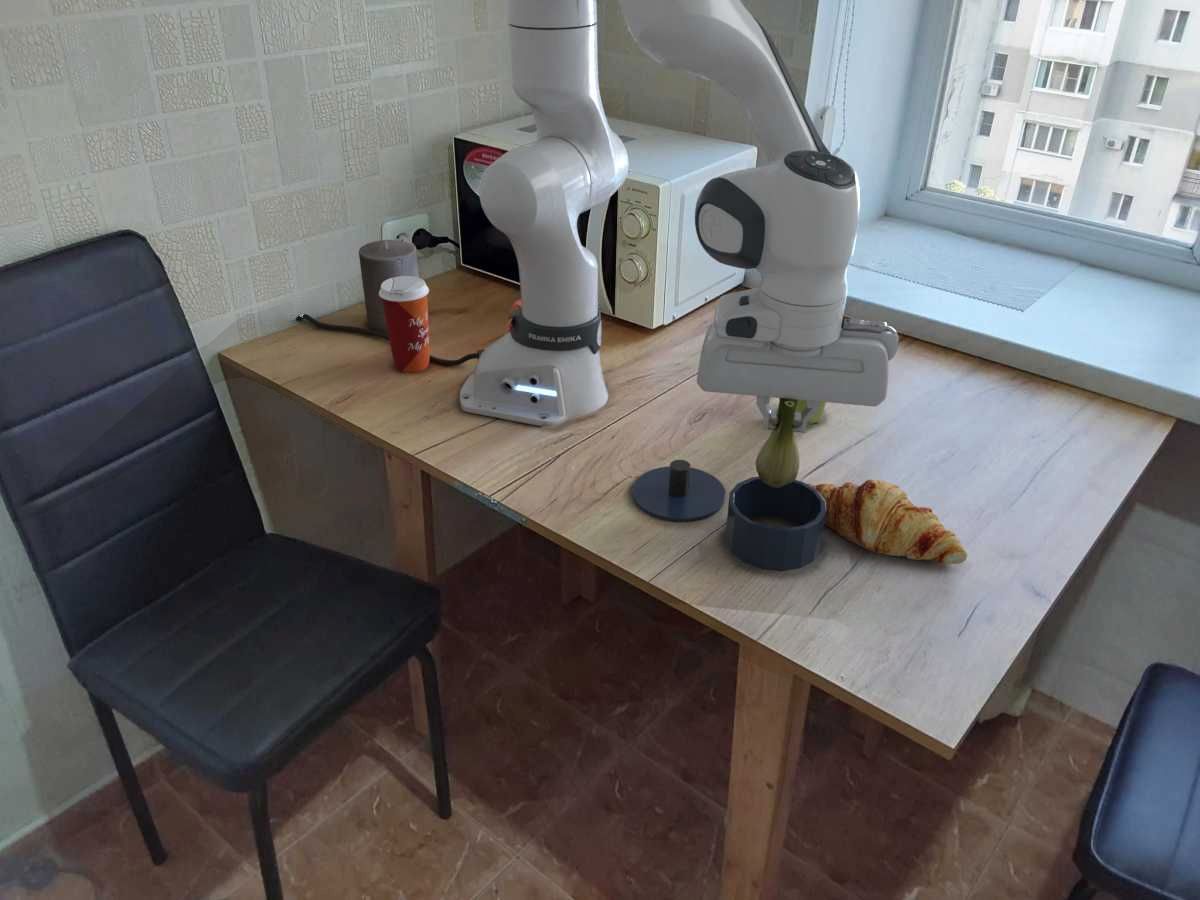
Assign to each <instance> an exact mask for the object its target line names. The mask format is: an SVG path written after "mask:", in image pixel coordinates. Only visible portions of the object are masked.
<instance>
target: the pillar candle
mask: <svg viewBox="0 0 1200 900" xmlns="http://www.w3.org/2000/svg"><path fill="white" fill-rule="evenodd" d="M358 258H359V267H360V273H361V283H362V289H363V295H364V296H363V297H364V305H365V311H366V314H365V315H366V319H367V326H368V329H369V330H374V331H377V332H381V333H384V334H387V335H389V334H388V329H387V323H386V318H385V313H384V307H383V302H382V298H381V297H380V296H379V291H380V289H381V284H382V283H383V282H384V281H385V280H387V279H390V278H392V279H393V278H394V277H399V276H414V277H418V278H420V277H419V266H418V258H417V247H416V245H415V244H414V243H413V242H410V241H406V240H401V239H400V240H399V239H382V240H375V241H371V242H367V243H366V244H364V245H362V246H360V248H359V249H358Z"/></svg>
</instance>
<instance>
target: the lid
mask: <svg viewBox="0 0 1200 900" xmlns="http://www.w3.org/2000/svg"><path fill="white" fill-rule="evenodd" d="M726 493H727V492H726V489H725V486H724V485H723V483H722V482H721V481H720V480H719V479H718V478H717V477H715V476H714V475H712V474H711V473H708V472H706V471H705V470H702V469H699V468H696V467H692V465H691V463H690V462H689V461H687V460H685V459H675V460H672V461H670V464H669V466H667V465H666V466H661V467H657V468H654V469H650V470H648V471H646V472H644V473H642V474H641V475H640V476H638V477H637V479H636V480H635V481H634V483H633V484H632V488H631V495H632V500H633V502H634V503H635V505H636V506H637V507H638V508H639V509H640V510H641V511H643V512H644V513H645V514H648V515H649V516H652V517H654V518H656V519H660V520H663V521H668V522H677V523H679V522H680V523H681V522H682V523H687V522H695V521H699V520H704V519H706V518H709V517H711V516H713V515H715V514H716V513H718V512H719V511H720V510H721V509H722V508H723V506H724V504H725V502H726V496H727V495H726Z"/></svg>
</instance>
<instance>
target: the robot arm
mask: <svg viewBox="0 0 1200 900" xmlns="http://www.w3.org/2000/svg"><path fill="white" fill-rule="evenodd" d="M618 3H619V7H620V9H621V12H622V15H623V19H624V21H625V24H626V26H627V29H628V31H629V33H630V36H631V37H632V39H633V40H634V42H635V43H636V46H638V48H639V50H640V51H641V52H642V53H643V54H644V56H646V57H647V58H648V59H650V60H652V61H653V62H655V63H656V64H658V65H659V66H662V67H665V68H667V69H670V70H673V71H676V72H679V73H680V72H681V73H685V74H688V75H692V76H696V77H699V78H701V79H705V80H707V81H709V82H711V83H714V84H716V85H718V86H720V87H721V88H723V89H725V90H726V91H727V92H729V94H731V95H732V96H733V97H734V98H735V99H736V100H737V101H738V103H739V104H740V106H741V107H742V109H743V110H744V113H745V115H746V117H747V119H748V121H749V123H750V125H751V127H752V129H753V131H754V133H755V136H756V138H757V139H758V142H759V144H760V146H761V148H762V150H763V153H764V154H765V156H766V158H767V160H768V163H769V164H766V165H761V166H756V167H748V168H745V169H740V170H734V171H731V172H726V173H724V174H721V175H719V176H717V177H714V178H711V179H709V180H708V181H707V182H706V184H705V185H704V186H703V187H702V189H701V191H700V193H699V195H698V198H697V200H696V203H695V210H694V226H695V232H696V236H697V239H698V242H699V244H700V245H701V247H702V249H703V250H704V251H705V252H706V254H708V255H709V256H710V258H712V259H713V260H715V261H716V262H717V263H719V264H722V265H725V266H730V267H733V268H738V269H744V270H755V271H757V272H758V273H759V274H760V283H759V286H758V287H754V288H749V289H746V290H740V291H736V292H730V293H727V294H724V295H721V296H720V297H719V298H718V299H717V303H716V304H715V305H716V306H715V308H714V314H713V321H712V322H711V323H710V325H709V327H708V328H707V330H706V333H705V336H704V339H703V343H702V347H701V351H700V357H699V361H698V368H697V375H696V376H697V377H696V384H697V385H698V386H699V388H700V389H701V390H702V391H703V392H708V393H720V394H731V395H742V396H754V397H756V399H755V401H756V406H757V407H758V409H759V411H760V413H761V415H762V417H763V421H762V422H763V423H762V425H763V426H762V430H766V431H772V430H776V429H777V421H778V409H777V410H776V409H771V407H770V405H769V404H770V400H771V398H775V399H779V398H785V399H797V400H807V406H806V407H805V408H804V409H803V411H802V412H801V413H800V412H795V415H794V420H793V432H794V433H799V434H806V432H807V427H808V426H807V425H808V424H807V421H809V420H810V419H811V418H812V417H813V416H814V415H815V414H816V413H817V412H818V411H819V409H820V404H821V402H826V403H830V404H831V403H832V404H842V405H854V406H862V407H863V406H865V407H878V406H879V405H881V404H882V403H883V402H885V400H886V399H887V395H888V394H887V393H888V386H889V362H890V361H892V359H894V357H895V356H896V353H897V351H898V345H899V339H900V338H899V334H898V332H897V331H896V329H894V328H893V327H892V326H889V325H888V323H887V322H885V321H880V320H872V321H871V320H870V321H868V320H863V319H856V318H845V317H844V314H845V310H846V309H845V308H846V302H847V298H848V297H847V296H848V281H847V271H848V268H849V265H850V263H851V260H852V258H853V256H854V253H855V248H856V243H857V236H858V228H859V221H860V219H859V218H860V206H861V203H860V202H861V197H860V195H861V194H860V183H859V179H858V175H857V172H856V170H855V169H854V167H852V165H850V163H848V162H847V161H845V160H843V159H842V158H840V157H838V156H837V155H834V154H832V153H831V152H830V151H829V149H828V148H827V147H826V145H825V143H824V142H823V140H822V138H821V137H820V134H819V133H818V131H817V129H816V126H815V124H814V122H813V120H812V119H811V116H810V114H809V111H808V110H807V108H806V105H805V103H804V101H803V99H802V97H801V95H800V92H799V90H798V89H797V87H796V85H795V82H794V80H793V78H792V76H791V75H790V72H789V69H788V68H787V66H786V63H785V62H784V60H783V57H782V55H781V54H780V52H779V50H778V48H777V46H776V44H775V43H774V41H773V39H772V37H771V36H770V34H769V33H768V31H767V30H766V28H765V27H764V26H763V25H762V24H761V23H760V22H759V20H758V19H756V18H755V17H754V16H753V15H752V14H751V13H750V12H749V10H748V9H747V8H746V7H745V6H744V4H743V3H742V1H741V0H618ZM597 5H598V4H597V0H507V26H508V46H509V65H510V66H509V67H510V83H511V84H510V85H511V87H512V90H513V92H514V93H515V95H516V97H518V98H519V99H520V100H521V101H522V102H523V103H525V104H527V105H528V107H529V108H530V111H531V113H532V117H533V120H534V122H535V126H536V133H537V135H536V140H534V141H531V142H528V143H525V144H523V145H520V146H516V147H514V148H511V149H509V150H508V151H506V152H505V153H504V154H503V155H501V156H500V157H497V159H496V160H494V161H493V162H492V163H491V164H490V165H488V166H487V167H486V168H485V169H484V171H483V172H482V174H481V177H480V180H479V185H478V197H479V201H480V206H481V208H482V211H483V213H484V215H485V216H486V218H487V219H488V221H489V222H490V223H491V224H492V226H494V227H495V228H496V229H497V230H498V231H500V232H502V233H503V234H504V235H505V236H506V237H507V239H508V240H509V242H510V244H511V246H512V249H513V251H514V254H515V257H516V261H517V266H518V275H519V287H520V288H519V290H520V299H517V300H515V301H514V302H513V305H512V306H511V308H510V313H509V315H508V321H507V323H506V324H507V333H505V334H504V335H502V336H501V337H499V338H497V339H496V340H495V341H492V342H491V343H490V344H488V346H486V348H484V349H476V352H475V353H469V354H466V355H464V356H462V357H460V358H458V359H444V358H443V359H442V358H439V357H435V356H433V355H430V354H429V358H430V360H429V362H432V363H434V364H437V365H442V366H459V365H462V364H464V363H466V362H468V361H470V360H475V359H477V360H476V361H477V362H476V365H475V367H474V368H475V369H474V372H473V373H471V374H470V376H468V378H467V379H466V380H465V382H464V383H463V385H462V387H461V389H460V392H459V406H460V408H461V410H462V411H463V412H466V413H470V414H476V415H481V416H485V417H490V418H491V417H492V418H495V419H503V420H506V421H512V422H517V423H523V424H527V425H533V426H538V427H542V426H556V425H559V424H561V423H563V422H565V421H567V420H569V419H573V418H577V417H581V416H584V415H588V414H590V413H592V412H595V411H596V410H598V409H600V408H604V407H605V405H606V404H607V402H608V400H609V392H608V389H607V387H606V383H605V379H604V375H603V370H602V369H603V368H602V362H601V355H600V354H601V353H600V349H601V345H602V330H603V329H602V317H601V310H600V308H599V305H598V303H599V302H598V301H599V298H598V297H599V295H598V293H599V285H598V284H599V279H598V278H599V275H598V274H599V273H598V272H599V270H598V269H599V265H598V260H597V258H596V257H595V255H594V254H593V252H592V251H591V250H589V249H588V248H587V247H585V246H584V245H582V243H581V240H580V236H579V233H578V232H579V231H578V219H579V216H580V214H582V213H584V212H587V211H590V210H591V209H593V208H595V207H598V206H600V205H602V204H603V203H605V202H607V200H608V199H610V197H612V196H613V195H614V194H615V193H616V192H617V191H618V190H619V189H621V187H622V186H623V184H624V183H625V181H626V179H627V178H628V177H627V176H628V173H629V168H630V167H629V165H630V163H629V162H630V161H629V156H628V151H627V148H626V147H625V144H624V143H623V141H622V139H621V138H620V137H619V136H618V135H617V134H616V133H615V132H614V131H613V130H612V128H611V127H610V125H609V122H608V119H607V117H606V116H607V115H606V114H605V109H604V106H603V101H602V99H601V98H602V97H601V92H600V84H599V83H600V82H599V65H598V64H599V62H598V61H599V60H598V8H597V7H598V6H597ZM303 314H304V315H303V318H302V317H300V316H299V315H296V318H295V321H296V322H300V321H302V320H303V319H304V320H305V321H308V322H309V323H310V324H312V325H314V326H316V327H318V328H321V329H324V330H331V331H332V330H333V331H341V332H353V333H360V334H364V335H368V336H373V337H376V338H380V339H383V340H386V341H388V342H390V339H389V334H384V333H381V332H377V331H374V330H371V329H370V328H363V327H359V326H351V325H340V324H331V323H325V322H321V321H318V320H317V319H315V318H314V317H312V316H311V315H309V314H307V313H303Z"/></svg>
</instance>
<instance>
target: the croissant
mask: <svg viewBox="0 0 1200 900" xmlns="http://www.w3.org/2000/svg"><path fill="white" fill-rule="evenodd" d="M806 484H807V485H809V486H811V487H812V488H814V489H816V490H817V491H818V492H819V493H820V495H821V496H822V497H823V499H824V500H825V502H826V517H825V523H824V525H825V526H826V527H829V528H830V529H832V530H833V531H834V532H835V533H836V534H837V535H838V536H839V537H841V538H842V539H845V540H847V541H849V542H851V543H852V544H856V545H858V546H859V547H862V548H864V549H867V551H871V552H874V553H878V554H881V555H886V556H891V557H906V559H910V560H916V561H919V560H925V561H930V560H934V561H935V562H937V563H938V564H943V565H946V564H947V565H958V564H961V563H964V562H965V561H966V560H967V558H968V552H967V551H966V550H965V549H964V546H963V545H962V542H961V541H960V539H959V538H958V537H957V535H956V534H955V532H954V531H952V530H948V529H946V528H945V526H944V525H943V524H942V523H941V521H940V519H939V517H938V516H937V514H935V513H934V512H933V509H932V508H930V507H924V506H916V505H914V503H913V502H912V501H911V500H910V499H909V498H908V496H907V494H906V493H905V492H904V490H902V489H900V487H899V486H897V485H896V484H892V483H889V482H886V481H883V480H880V479H879V480H877V479H867V480H865V481H864V482H863V483H862V484H860V485H858V484H855V483H853V482H849V481H848V482H845V483H843V484H842V485H841V486H837V487H836V485H834V484H832V483H819V484H817V485H814V484H811V483H806Z"/></svg>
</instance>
